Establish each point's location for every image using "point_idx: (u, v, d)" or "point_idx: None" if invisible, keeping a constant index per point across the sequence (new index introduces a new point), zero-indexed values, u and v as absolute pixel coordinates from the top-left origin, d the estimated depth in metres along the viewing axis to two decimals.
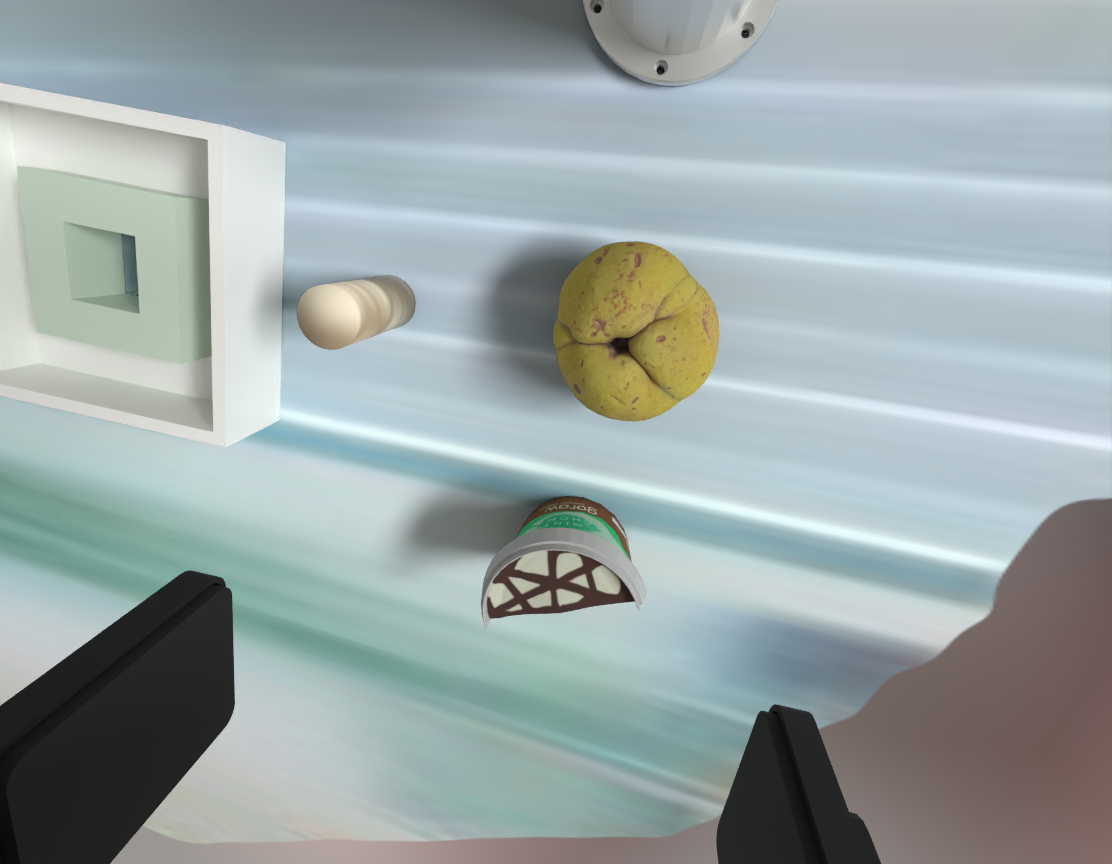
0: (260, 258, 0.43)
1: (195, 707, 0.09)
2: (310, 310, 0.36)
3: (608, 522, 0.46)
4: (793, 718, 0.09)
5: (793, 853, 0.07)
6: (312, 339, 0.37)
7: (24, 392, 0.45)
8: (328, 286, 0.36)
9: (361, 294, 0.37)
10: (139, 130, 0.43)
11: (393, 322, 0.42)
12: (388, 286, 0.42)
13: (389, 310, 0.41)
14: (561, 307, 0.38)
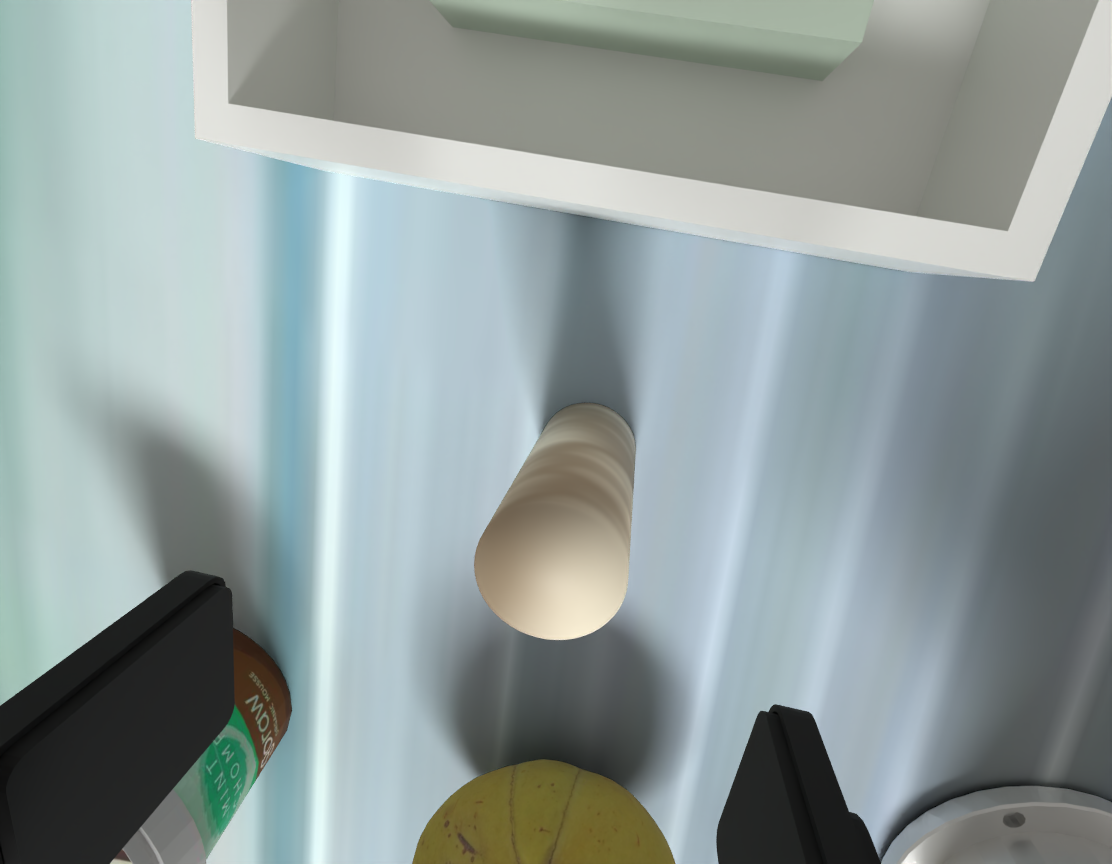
0: (682, 229, 0.19)
1: (195, 707, 0.09)
2: (566, 537, 0.15)
3: None
4: (793, 718, 0.09)
5: (793, 853, 0.07)
6: (495, 529, 0.15)
7: None
8: (624, 590, 0.15)
9: None
10: None
11: None
12: None
13: None
14: (582, 850, 0.23)
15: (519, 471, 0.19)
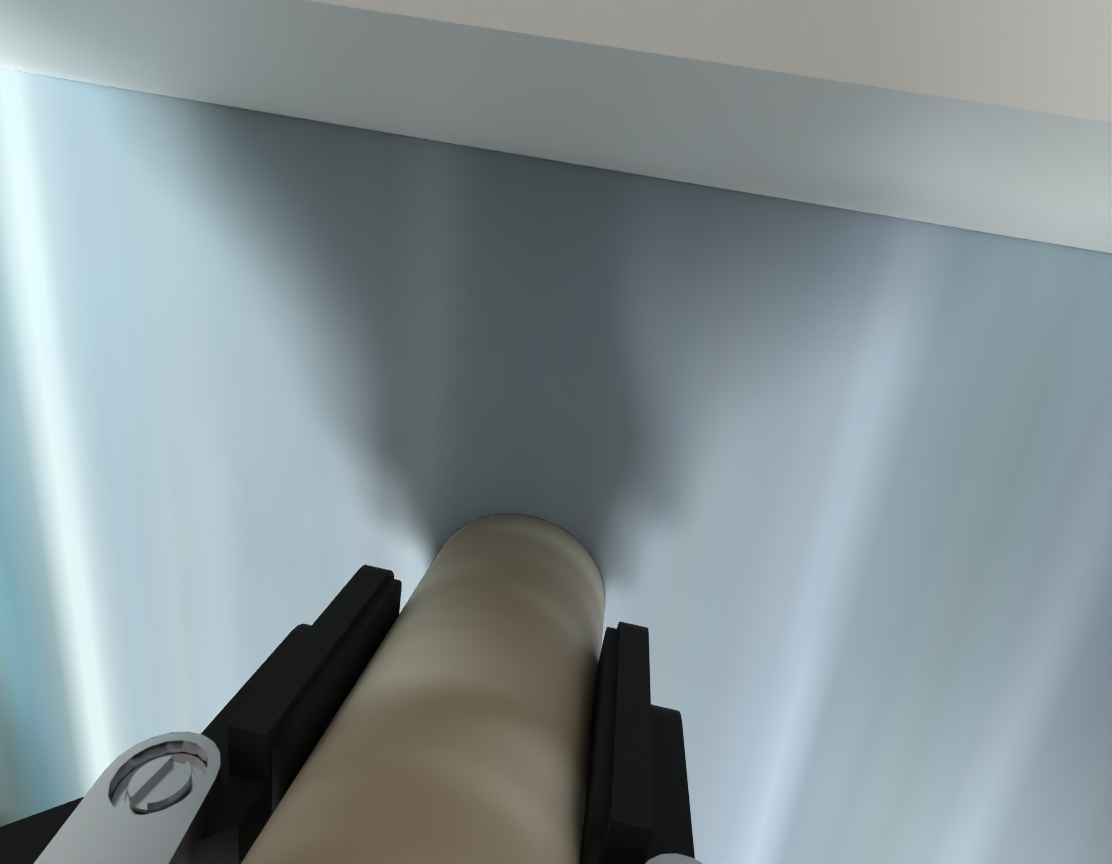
0: (703, 159, 0.07)
1: None
2: None
3: None
4: (629, 631, 0.10)
5: (598, 728, 0.08)
6: None
7: None
8: None
9: None
10: None
11: None
12: None
13: None
14: None
15: (303, 765, 0.08)
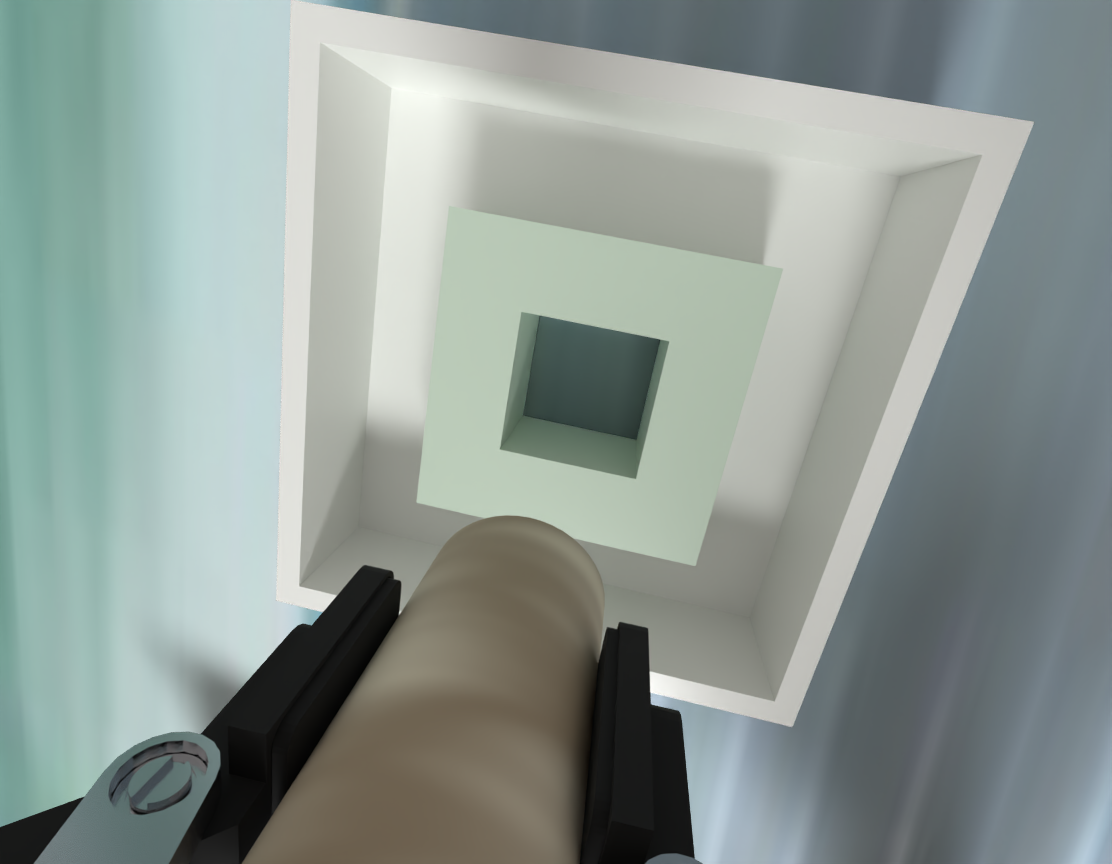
0: None
1: None
2: None
3: None
4: (629, 631, 0.10)
5: (598, 728, 0.08)
6: None
7: (306, 196, 0.20)
8: None
9: None
10: (808, 436, 0.25)
11: None
12: None
13: None
14: None
15: (302, 768, 0.08)
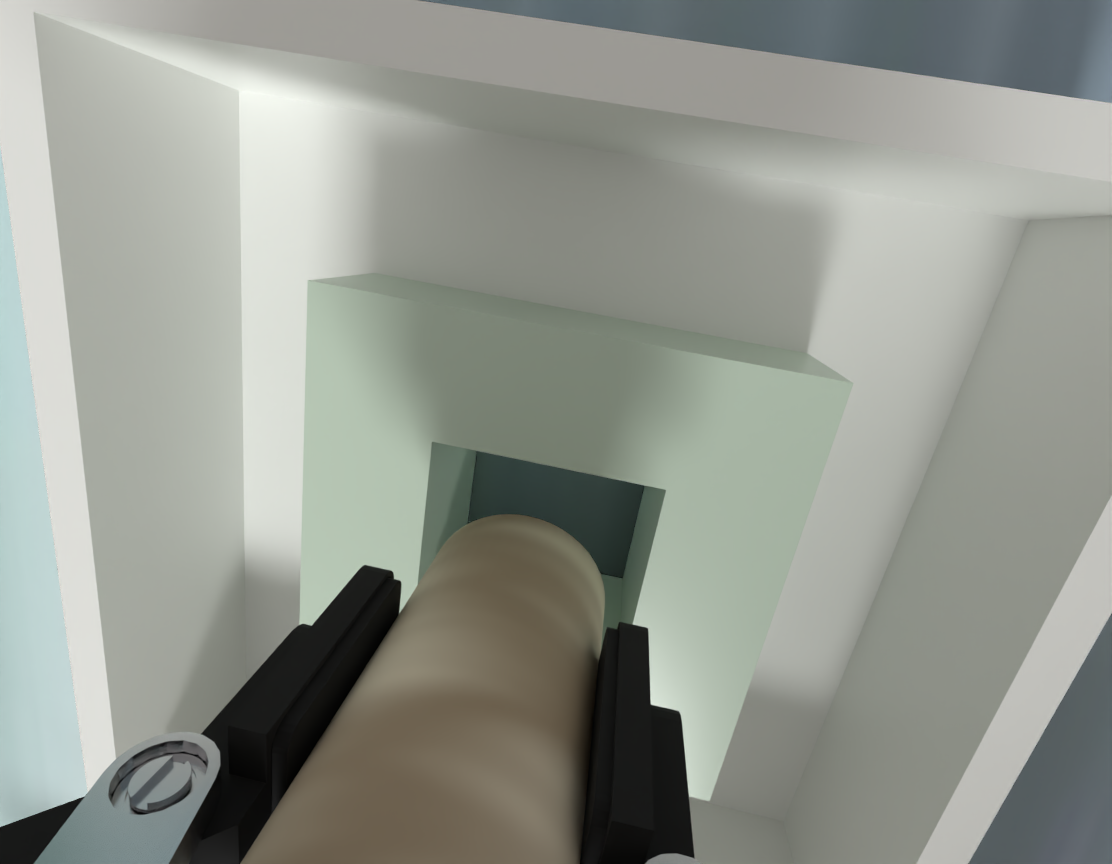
0: None
1: None
2: None
3: None
4: (629, 631, 0.10)
5: (598, 728, 0.08)
6: None
7: (50, 275, 0.12)
8: None
9: None
10: (872, 593, 0.17)
11: None
12: None
13: None
14: None
15: (302, 766, 0.08)
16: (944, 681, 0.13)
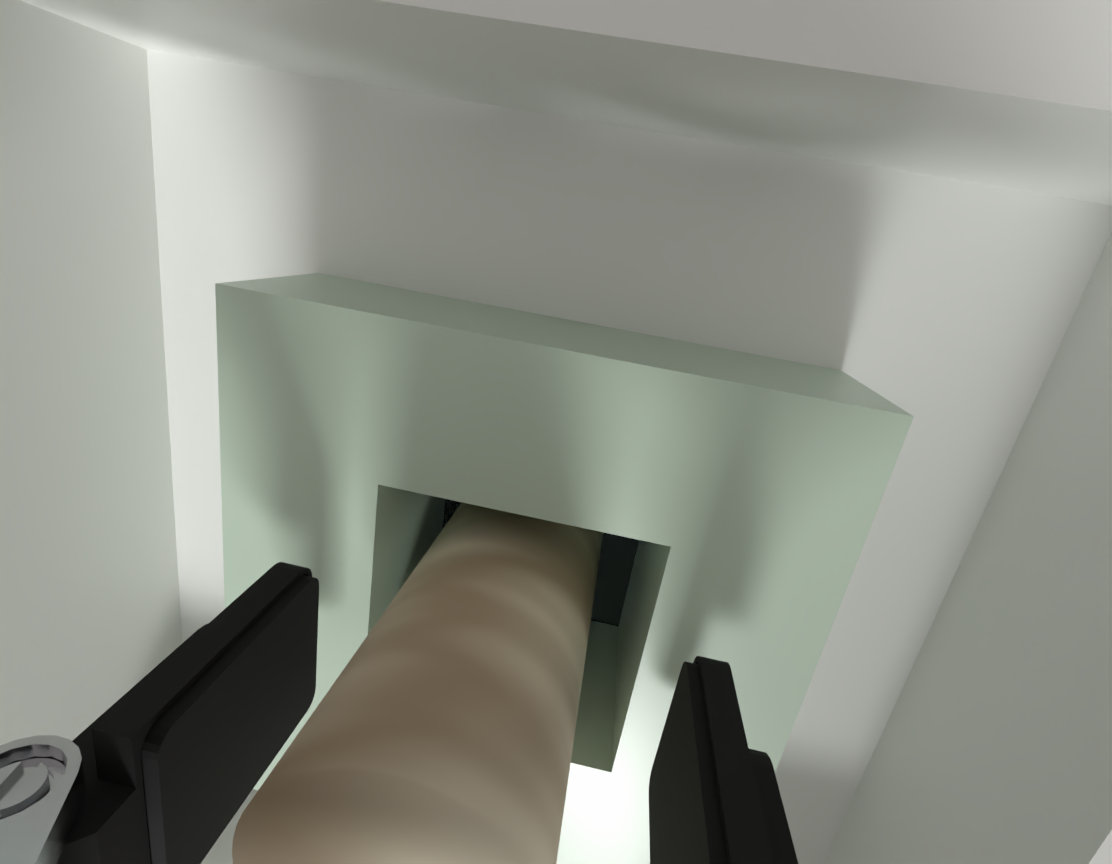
0: None
1: (288, 690, 0.10)
2: (411, 837, 0.07)
3: None
4: (711, 666, 0.10)
5: (694, 777, 0.08)
6: (264, 810, 0.07)
7: None
8: None
9: None
10: (913, 652, 0.15)
11: None
12: None
13: None
14: None
15: (389, 604, 0.11)
16: (1018, 784, 0.11)
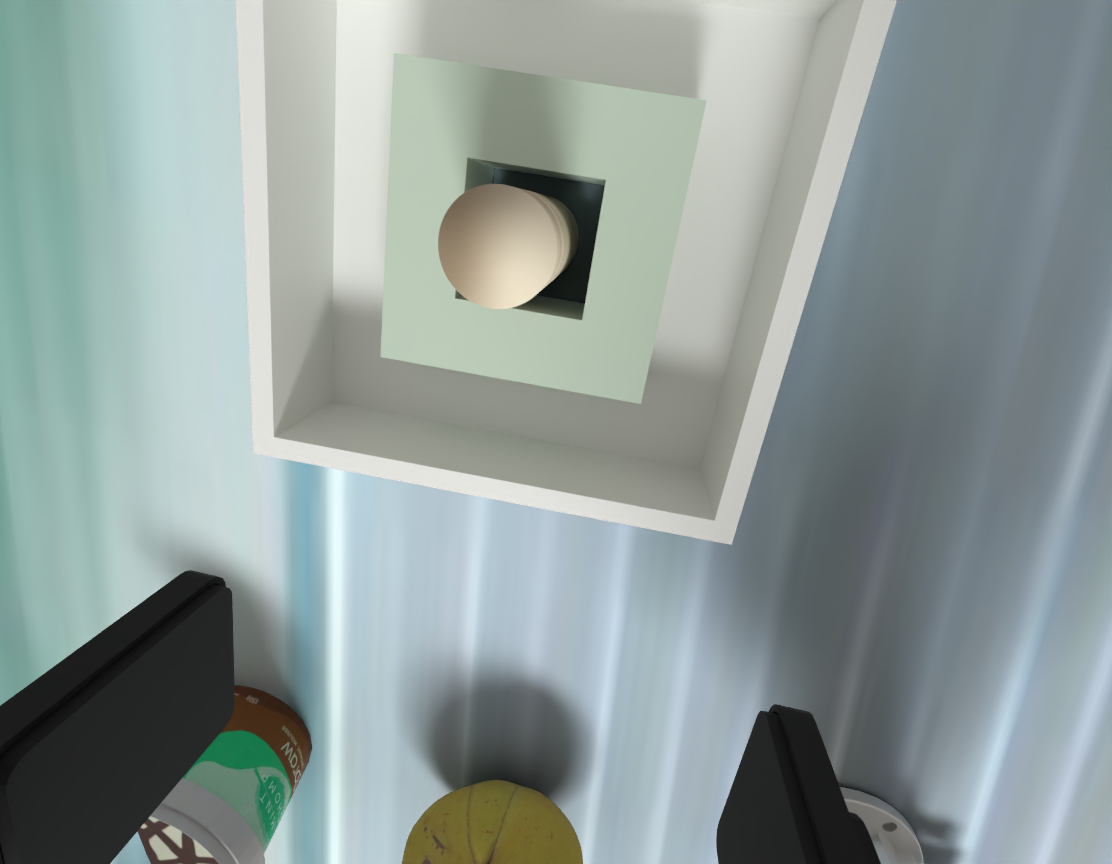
0: None
1: (195, 707, 0.09)
2: (507, 214, 0.19)
3: None
4: (793, 718, 0.09)
5: (793, 853, 0.07)
6: (453, 212, 0.19)
7: (256, 38, 0.21)
8: (553, 257, 0.19)
9: None
10: (745, 286, 0.27)
11: None
12: (561, 272, 0.26)
13: None
14: (513, 843, 0.35)
15: None
16: (769, 291, 0.23)
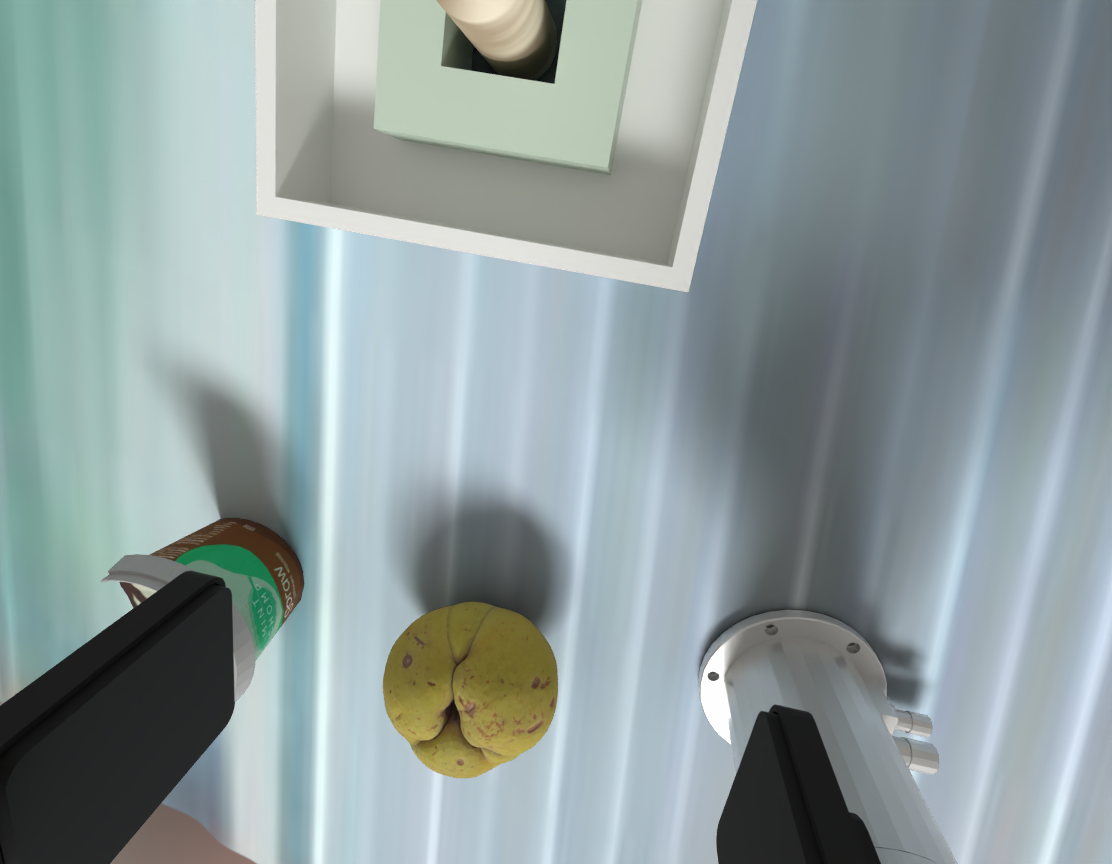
0: None
1: (195, 707, 0.09)
2: None
3: None
4: (793, 718, 0.09)
5: (793, 853, 0.07)
6: None
7: None
8: None
9: (516, 20, 0.24)
10: (706, 73, 0.30)
11: (486, 57, 0.29)
12: (537, 49, 0.29)
13: (501, 56, 0.28)
14: (490, 639, 0.37)
15: None
16: (720, 44, 0.26)
